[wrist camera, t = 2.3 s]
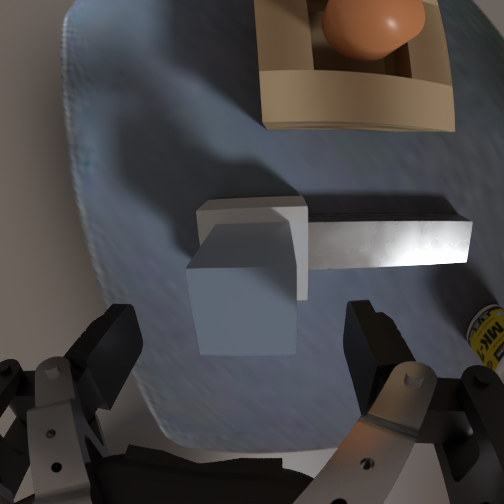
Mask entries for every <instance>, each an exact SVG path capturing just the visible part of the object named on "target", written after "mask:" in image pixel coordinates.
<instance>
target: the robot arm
mask: <svg viewBox="0 0 504 504" xmlns="http://www.w3.org/2000/svg"><path fill="white" fill-rule="evenodd" d="M142 347H143V339H142V335H141V331H140V328H139V324H138V321H137V317H136V313H135V310H134V307H133V306H132V305H131V304H112V305H111V306H110V307H109V309H108V310H107V311H106V312H105V314H104V315H102V316H100V317H99V318H97V319H96V320H94V321H93V322H92V323H91V324H90V325H89V326H88V327H87V329H86V331H84V332H83V333H82V334H81V337H79V338H78V339H77V341H76V342H75V343H74V344H73V345H72V347H71V348H70V349H69V350H68V352H67V353H66V354H65V356H63V357H60V356H59V357H58V356H57V357H51V358H48V359H46V360H44V361H43V362H42V363H40V364H39V366H38V367H37V368H36V371H23V370H22V368H21V366H20V364H19V362H18V361H17V360H14V359H7V360H4V361H2V362H0V417H1V416H2V414H3V413H4V411H5V410H6V408H7V407H8V405H9V406H10V408H11V409H12V411H13V412H14V414H15V415H16V418H15V420H14V422H13V423H12V425H11V426H10V428H9V430H8V432H7V433H6V435H5V437H4V438H3V437H2V436H1V435H0V504H383V503H384V501H385V499H386V498H387V496H388V494H389V493H390V491H391V489H392V487H393V486H394V484H395V482H396V480H397V478H398V476H399V474H400V472H401V471H402V469H403V467H404V465H405V462H406V460H407V459H408V457H409V454H410V452H411V450H412V448H413V446H414V444H415V443H433V444H434V447H435V450H436V453H437V456H438V460H439V463H440V466H441V470H442V474H443V477H444V481H445V485H446V489H447V493H448V497H449V501H450V504H504V384H503V382H502V380H501V379H500V377H499V376H498V374H497V373H496V372H495V371H493V370H492V369H490V368H488V367H486V366H481V365H474V366H470V367H468V368H467V369H466V370H465V371H464V372H463V374H462V377H461V379H454V378H439V377H437V376H436V374H435V372H434V371H433V369H431V368H430V367H429V366H427V365H425V364H423V363H420V362H416V360H415V359H414V357H413V355H412V353H411V351H410V349H409V348H408V346H407V344H406V342H405V340H404V339H403V337H402V335H401V333H400V332H399V330H397V326H396V325H395V323H394V321H393V320H392V319H391V318H390V317H389V316H387V315H386V314H384V313H383V312H378V313H376V312H375V310H374V308H373V307H372V305H371V303H370V301H369V300H357V301H348V303H347V308H346V318H345V327H344V335H343V348H344V354H345V357H346V360H347V364H348V367H349V371H350V375H351V378H352V382H353V385H354V389H355V393H356V396H357V400H358V404H359V408H360V411H361V415H362V416H361V417H360V418H359V419H358V421H357V422H356V424H355V425H354V427H353V428H352V430H351V431H350V432H349V434H348V435H347V437H346V438H345V440H344V441H343V442H342V444H341V445H340V446H339V448H338V449H337V451H336V452H335V453H334V454H333V456H332V457H331V459H330V460H329V461H328V462H327V464H326V465H325V466H324V467H323V469H322V470H321V471H320V472H319V474H318V475H317V476H316V477H315V478H312V477H310V476H308V475H306V474H303V473H300V472H297V471H294V470H290V469H284V468H282V458H239V459H232V460H226V461H218V462H210V463H195V462H192V461H189V460H186V459H184V458H181V457H178V456H175V455H173V454H170V453H168V452H165V451H162V450H156V449H150V448H145V447H139V446H134V445H130V444H129V446H128V448H127V451H126V453H125V454H119V455H112V456H111V454H110V452H109V449H108V447H107V443H106V441H105V438H104V434H103V431H102V428H101V425H100V422H99V419H98V416H97V414H96V413H95V412H96V410H97V409H98V408H101V409H106V410H111V408H112V406H113V404H114V402H115V400H116V398H117V396H118V394H119V393H120V391H121V389H122V387H123V385H124V383H125V381H126V379H127V377H128V376H129V374H130V372H131V370H132V368H133V366H134V365H135V363H136V361H137V359H138V357H139V355H140V354H141V352H142ZM30 465H31V473H32V480H33V486H34V492H35V493H34V494H32V495H30V496H28V497H26V498H24V499H22V500H20V501H18V502H16V503H14V498H15V495H16V493H17V491H18V489H19V486H20V484H21V482H22V480H23V478H24V476H25V474H26V472H27V470H28V468H29V466H30Z"/></svg>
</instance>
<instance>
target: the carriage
mask: <svg viewBox="0 0 504 504" xmlns="http://www.w3.org/2000/svg"><path fill="white" fill-rule="evenodd" d="M196 216H197V225H198V234H199V242H200V248H199V249H198V250H197V252H196V253H195V255H194V256H193V258H192V259H191V261H190V262H189V264H188V266H187V267H186V269H185V270H186V276H187V282H188V289H189V295H190V301H191V306H192V312H193V318H194V323H195V329H196V334H197V339H198V345H199V350H200V355H230V356H274V355H296V324H297V300H307V292H308V206H307V204H306V202H305V200H304V198H303V196H276V197H251V198H231V199H214V200H207V201H206V202H205V203H204V204H203V205H202V206H201V207H200V208H199V209H198V210H197V211H196Z"/></svg>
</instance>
